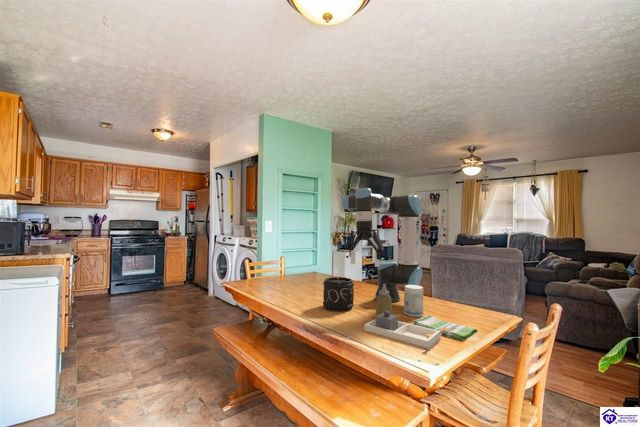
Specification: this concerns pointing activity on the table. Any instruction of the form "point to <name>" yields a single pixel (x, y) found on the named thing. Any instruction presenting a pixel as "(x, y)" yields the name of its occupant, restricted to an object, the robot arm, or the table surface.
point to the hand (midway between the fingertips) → (364, 265)
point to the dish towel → (452, 331)
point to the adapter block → (387, 321)
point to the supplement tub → (413, 300)
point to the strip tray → (407, 333)
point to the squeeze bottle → (383, 301)
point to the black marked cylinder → (338, 294)
